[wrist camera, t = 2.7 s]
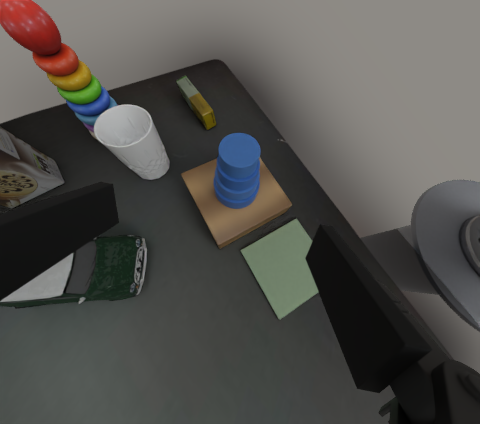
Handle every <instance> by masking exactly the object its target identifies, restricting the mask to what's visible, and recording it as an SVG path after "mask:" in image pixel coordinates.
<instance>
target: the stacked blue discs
mask: <svg viewBox="0 0 480 424" xmlns="http://www.w3.org/2000/svg"><path fill="white" fill-rule="evenodd" d="M259 157H260V146H259V144H258V142H257V141H256V140H255V139H254V138H253V137H252V136H250V135H248V134H244V133H233V134H230V135H228V136H226V137H225V138H223V140H222V141H221V142H220V144H219V155H218V157H217V166H216V169H215V177H214V189H215V194H216V197H217V199H218V200H219V201H220V202H221V203H222V204H223V205H224V206H226V207H229V208H232V209H240V208H244V207H247V206H248V205H250V204H251V203H252V202H253V201H254V200H255V198H256V195H257V193H258V190H259V186H260V181H259V178H260V171H259V169H260V160H259Z"/></svg>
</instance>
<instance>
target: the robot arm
mask: <svg viewBox="0 0 480 424" xmlns="http://www.w3.org/2000/svg"><path fill="white" fill-rule="evenodd" d="M117 223H119V220H118V213H117V207H116V201H115V194H114V188H113V184H109V183H104V182H99V183H96V184H93V185H90V186H86V187H83V188H80V189H77V190H74V191H71V192H68V193H65V194H62V195H59V196H55V197H52V198H49V199H46V200H43V201H40V202H37V203H34V204H31V205H28V206H24V207H21V208H18V209H15V210H12V211H9V212H6V213H3V214H0V301H1V300H3V299H4V298H6V297H7V296H9V295H10V294H12V293H13V292H15V291H16V290H18V289H19V288H21V287H22V286H24V285H25V284H27V283H28V282H30V281H31V280H33V279H34V278H36V277H37V276H39V275H40V274H42V273H43V272H45V271H46V270H48V269H49V268H51V267H52V266H54V265H55V264H57V263H58V262H60V261H61V260H63V259H64V258H66V257H67V256H69V255H70V254H72V253H73V252H75V251H76V250H78V249H80V248H81V247H83V246H84V245H86V244H87V243H89V242H90V241H92V240H93V239H95V238H96V237H98V236H99V235H101V234H102V233H104V232H105V231H107V230H108V229H110V228H111V227H113V226H114V225H116V224H117ZM459 242H460V247H461V250H462V252H463V255H464V257H465V259H466V260H467V262H468V263H469V265H470V266H471V268H472V269H473V270H474V271H475V273H476V274H477V275H478V276H479V277H480V215H477V216H473V217H470V218H468V219H467V220H465V221H464V222H463V224H462V225H461V228H460V231H459ZM305 259H306V261H307V264H308V266H309V269H310V271H311V274H312V276H313V279H314V281H315V284H316V286H317V289H318V291H319V294H320V297H321V299H322V302H323V304H324V307H325V309H326V312H327V314H328V317H329V319H330V322H331V324H332V327H333V329H334V332H335V334H336V337H337V339H338V342H339V344H340V347H341V349H342V352H343V354H344V357H345V359H346V362H347V364H348V367H349V369H350V372H351V374H352V377H353V379H354V382H355V384H356V387H357V389H361V390H367V391H372V392H377V393H380V392H381V391H382V390H384V389H385V388H386V387H387V386H388V385H390V386H391V388H392V390H393V392H394V394H395V396H396V397H395V398H393V399H392V400H391V401H389V402H388V403H387V404H385V405H384V406H382V407H381V409H380V411H379V414H380V415H381V416H382V417H383V416H384V415H386V414H387V413H388V412H390V420H389V421H388V422H389V424H480V374H479V373H478V372H476V371H475V370H474V369H472V368H470V367H468V366H466V365H465V364H463V363H461V362H458V361H455V360H451V359H449V358H448V357H447V355H446V354H445V353H444V352H443V351H442V350H441V348H440V347H439V346H438V345H437V344H436V343H435V341H434V340H433V339H432V338H431V337H430V336H429V334H428V333H427V332H426V331H425V330H424V329H423V327H422V326H421V325H420V324H419V323H418V322H417V320H416V319H415V318H414V317H413V316H412V315H411V314H409V311H408V310H407V309H406V308H405V306H404V305H403V304H401V302H400V301H399V299H398V298H397V297H396V296H395V295H394V294H393V292H392V291H391V290H390V289H388V288H387V287H386V286H385V285H383V284H382V283H381V282H380V281H379V280H376V279H375V278H374V277H373V276H372V275H371V273H370V272H369V271H368V270H367V268H366V267H365V266H364V265H363V264H362V262H361V261H360V260H359V259H358V257H357V256H356V255H355V254H354V253H353V251H352V250H351V249H350V248H349V246H348V245H347V244H346V243H345V242H344V240H343V239H342V238H341V237H340V235H339V234H338V233H337V232H336V231H335V229H334V228H333V227H332V226H327V225H322V224H320V226H319V228H318V230H317V233H316V235H315V237H314V239H313V242H312V244H311V246H310V249H309V251H308V253H307V255H306V258H305Z"/></svg>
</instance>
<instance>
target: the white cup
mask: <svg viewBox="0 0 480 424" xmlns="http://www.w3.org/2000/svg"><path fill="white" fill-rule="evenodd" d="M94 134H95V136H96V138H97V139H98V140H99V141H100V142H101V143H102V144H103V145H104V146H105V147H106V148H107V149H109V150H110V151H111V152H112V153H113V154H114V155H115V156H116V157H117V158H118V159H119V160H120V161H122V162H123V163H124V164H125V165H126V166H127V167H129V168H130V169H131V170H133V171H134V172H135V173H136V174H137V175H138V176H140V177H141V178H143V179H148V180H153V179H158V178H160V177H161V176H163V175H164V174H166V172H167V171H168V169H169V165H170V161H169V158H168V156H167V154H166V151H165V148H164V145H163V143H162V141H161V138H160V136H159V134H158V132H157V130H156V127H155V125H154V123H153V121H152V118H151V116H150V114H149V113H148V112H147V111H146V110H145V109H143V108H141V107H139V106H135V105H118V106H115V107H112V108H110V109H108V110H106V111H104V112H103V113H102V114H101V115H100V116H99V117H98V118H97V120H96V122H95V124H94Z"/></svg>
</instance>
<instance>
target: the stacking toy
mask: <svg viewBox="0 0 480 424" xmlns="http://www.w3.org/2000/svg"><path fill="white" fill-rule="evenodd" d="M0 24H1V25H2V27H3V28H4V29H5V31H6V32H7V33H8V34H9V35H10V36H11V37H12V38H13V39H14V40H15V41H16V42H18V43H19V44H20V45H22V46H23V47H25V48H27V49H28V50H30V51H32V52H33V59H34V61H35V63H36V64H37V65H38V66H39V67H40V68H41V69H42V70H44V71H45V72H47V76H48V78H49V80H50V81H51V82H52V83H53V84H54V85H55V86H57V89H58V92H59V93H60V95H61V96H62V97H63V98H64V99H66V102H67V104H68V106H69V107H70V108H71V109H72V110H73V111H74V112H75V114H76V116H77V117H78V118H79V119H80V120H81V121H82V122H83V124H84V125H85V127H86V128H87V129H89V132H90V133H91V135H92V136H93V137H94V138H95V139H97V138H96V136H95V134H94V124H95V122H96V120H97V118H98V117H99V116H100V115H101V114H102V113H103V112H104V111H106V110H108V109H110V108H112V107H115V106H118V105H117V103H116V102H115V101H114V99H113V98H111V97H110V96H109V94H108V92H107V91H106V90H105V89H104V88H103V87H102V86H101V84H100V82H99V81H98V79H97V78H96V77H94V76H93V75H92V74H91V72H90V70H89V68H88V67H87V65H85V64H84V63H83V62H81V61H79V60H78V57H77V55H76V53H75V52H74V51H73V50H72V49H71V48H70V47H69V46H67V45H65V44H63V43H61V36H60V33H59V30H58V28H57V26H56V24H55V23H54V21H53V20H52V19H51V18H50V16H49V15H48V14H47V13H46V12H45V11H44V10H43V9H42V8H41V7H40V6H39V5H37V4H36V3H35V2H33V1H32V0H0ZM97 140H98V139H97Z"/></svg>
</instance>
